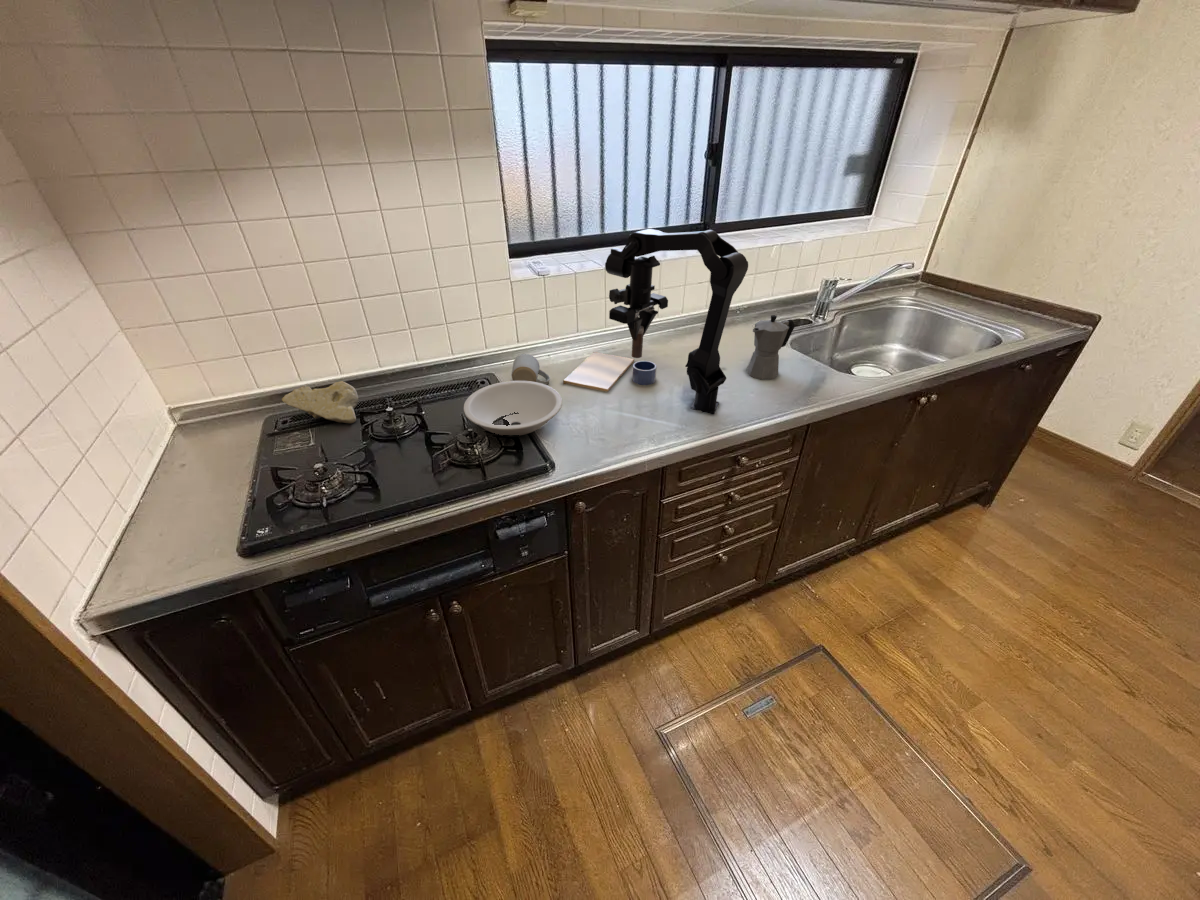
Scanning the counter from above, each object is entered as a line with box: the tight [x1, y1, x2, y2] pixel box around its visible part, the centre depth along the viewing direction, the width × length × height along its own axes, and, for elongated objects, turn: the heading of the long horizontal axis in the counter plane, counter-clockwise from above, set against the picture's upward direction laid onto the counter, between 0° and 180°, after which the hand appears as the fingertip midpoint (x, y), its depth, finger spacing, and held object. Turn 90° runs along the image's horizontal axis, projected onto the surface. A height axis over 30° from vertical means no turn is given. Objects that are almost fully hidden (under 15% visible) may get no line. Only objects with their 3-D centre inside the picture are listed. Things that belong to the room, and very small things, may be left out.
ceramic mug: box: [511, 353, 551, 386], centre depth 143 cm, size 11×8×8 cm
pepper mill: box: [631, 325, 644, 359], centre depth 141 cm, size 3×3×9 cm
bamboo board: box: [562, 351, 635, 393], centre depth 151 cm, size 22×14×1 cm, turn 157°
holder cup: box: [631, 360, 658, 386], centre depth 145 cm, size 7×7×5 cm
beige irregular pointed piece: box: [281, 380, 359, 424], centre depth 128 cm, size 15×7×15 cm
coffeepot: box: [746, 314, 796, 381], centre depth 147 cm, size 15×9×18 cm, turn 116°
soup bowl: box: [463, 380, 563, 436], centre depth 125 cm, size 24×24×7 cm
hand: (637, 337), depth 140 cm, fingers closed on pepper mill, 3 cm apart
